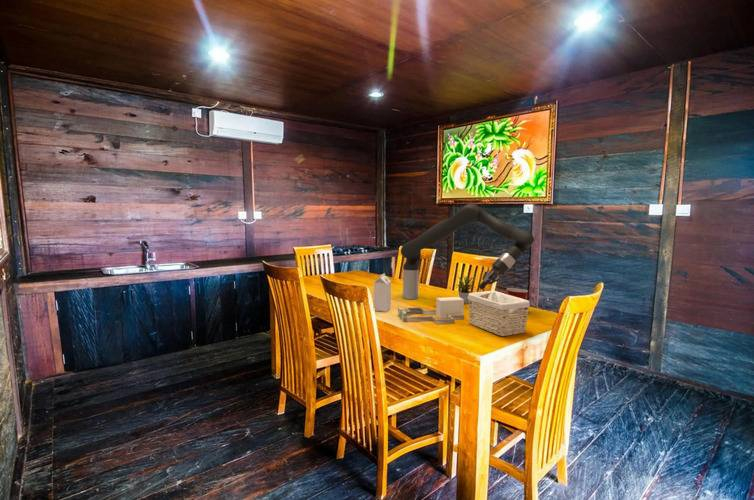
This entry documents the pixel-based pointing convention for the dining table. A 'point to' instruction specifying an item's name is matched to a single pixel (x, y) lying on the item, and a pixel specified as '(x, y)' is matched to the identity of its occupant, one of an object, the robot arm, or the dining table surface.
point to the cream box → (449, 306)
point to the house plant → (465, 288)
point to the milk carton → (382, 294)
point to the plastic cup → (517, 292)
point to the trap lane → (420, 310)
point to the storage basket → (498, 312)
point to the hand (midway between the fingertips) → (480, 288)
